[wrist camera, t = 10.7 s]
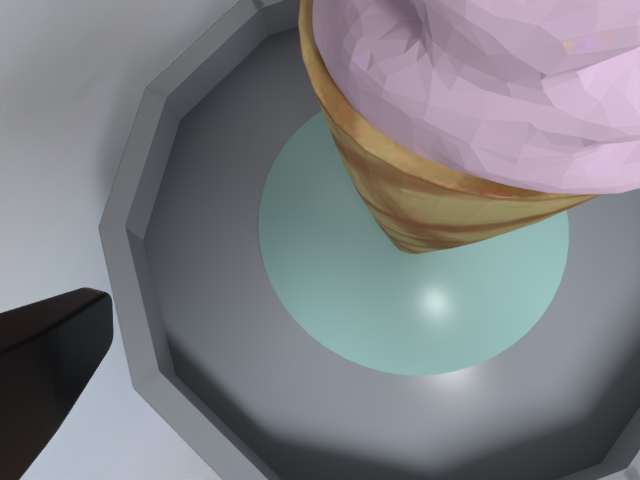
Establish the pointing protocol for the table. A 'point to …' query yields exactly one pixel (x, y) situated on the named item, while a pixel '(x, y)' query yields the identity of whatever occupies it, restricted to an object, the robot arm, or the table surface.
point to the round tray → (353, 297)
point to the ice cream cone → (477, 109)
